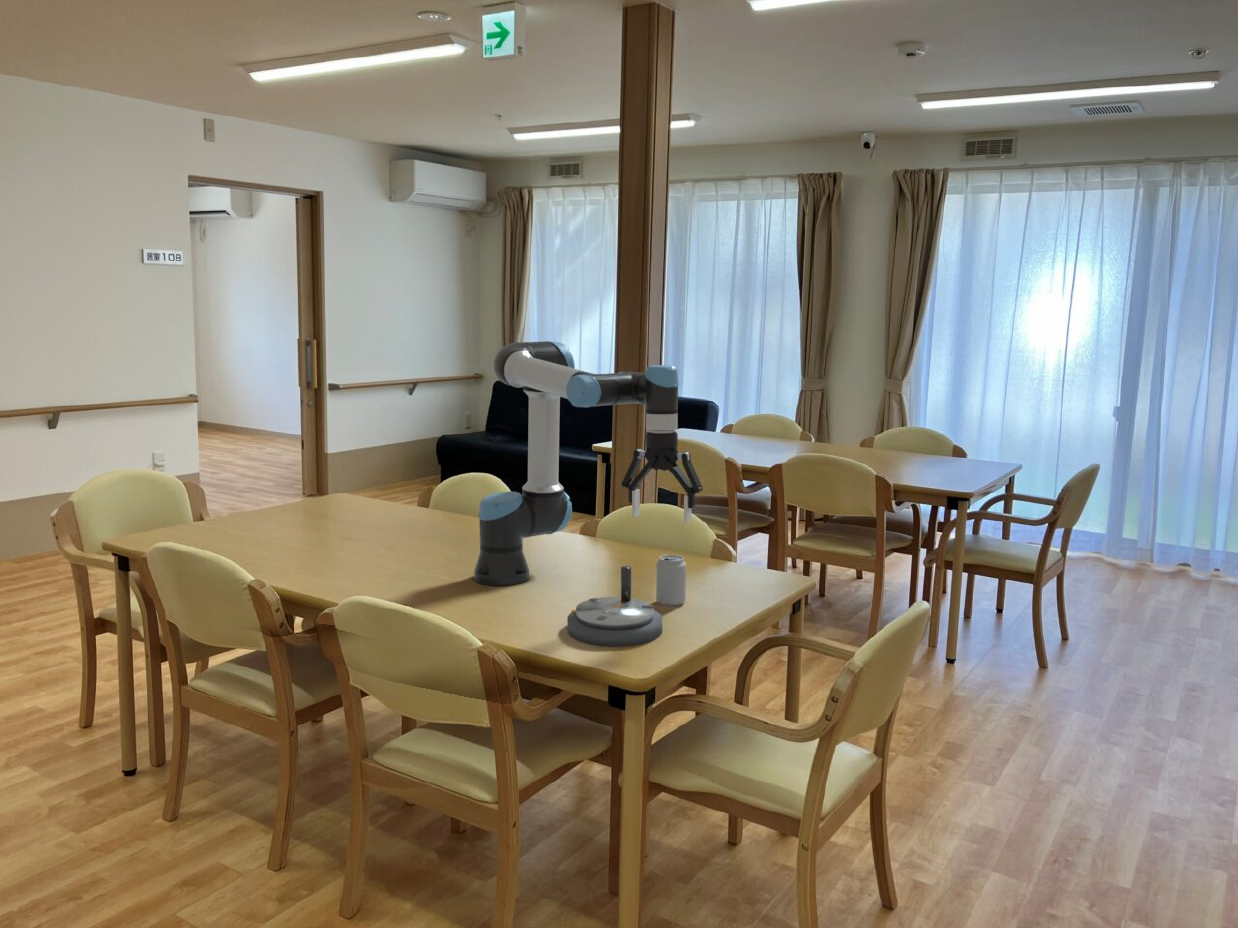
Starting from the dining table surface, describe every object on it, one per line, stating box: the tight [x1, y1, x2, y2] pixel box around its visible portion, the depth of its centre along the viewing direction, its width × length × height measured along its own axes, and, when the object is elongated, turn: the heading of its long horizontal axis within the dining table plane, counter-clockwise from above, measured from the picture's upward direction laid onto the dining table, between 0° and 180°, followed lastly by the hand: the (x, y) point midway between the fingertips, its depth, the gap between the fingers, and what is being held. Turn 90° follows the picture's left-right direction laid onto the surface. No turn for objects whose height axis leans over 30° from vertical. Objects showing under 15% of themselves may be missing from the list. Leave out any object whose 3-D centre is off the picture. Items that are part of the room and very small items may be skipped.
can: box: [655, 554, 687, 607], centre depth 245 cm, size 8×8×12 cm
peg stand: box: [575, 565, 655, 629], centre depth 223 cm, size 18×18×10 cm
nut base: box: [566, 608, 663, 648], centre depth 224 cm, size 22×22×4 cm
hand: (661, 518), depth 232 cm, fingers open, 13 cm apart
